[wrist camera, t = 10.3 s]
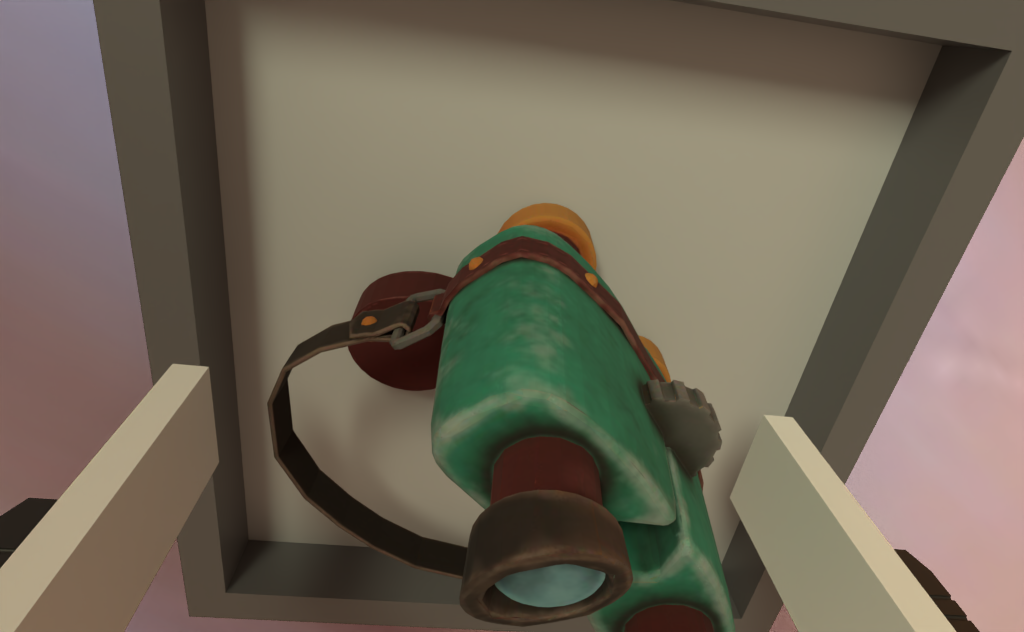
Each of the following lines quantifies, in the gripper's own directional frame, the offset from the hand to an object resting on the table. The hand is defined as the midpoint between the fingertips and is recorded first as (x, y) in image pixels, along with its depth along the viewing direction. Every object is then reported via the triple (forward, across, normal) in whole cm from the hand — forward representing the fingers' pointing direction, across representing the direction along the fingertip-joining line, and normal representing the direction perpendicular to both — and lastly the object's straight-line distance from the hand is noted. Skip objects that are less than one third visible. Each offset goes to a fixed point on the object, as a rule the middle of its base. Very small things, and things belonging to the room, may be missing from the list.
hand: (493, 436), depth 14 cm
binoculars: (+4, 0, 0) cm, 4 cm away
